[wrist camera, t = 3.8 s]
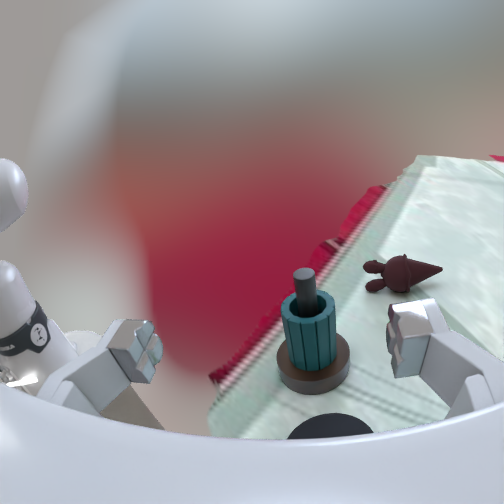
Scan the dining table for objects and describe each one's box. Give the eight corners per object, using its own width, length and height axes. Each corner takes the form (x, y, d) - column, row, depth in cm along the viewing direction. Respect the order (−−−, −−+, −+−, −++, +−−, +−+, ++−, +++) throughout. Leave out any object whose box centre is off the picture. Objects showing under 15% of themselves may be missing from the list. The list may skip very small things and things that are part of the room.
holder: (276, 396, 37) (253, 305, 30) (281, 344, 46) (263, 255, 39) (351, 391, 35) (355, 296, 28) (346, 339, 44) (343, 247, 37)
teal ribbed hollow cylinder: (288, 372, 37) (279, 325, 33) (290, 338, 43) (282, 291, 39) (337, 368, 36) (336, 320, 32) (334, 334, 41) (332, 286, 38)
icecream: (437, 244, 49) (362, 253, 55) (447, 255, 42) (362, 265, 48) (438, 279, 51) (365, 287, 56) (447, 294, 44) (365, 303, 50)
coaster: (278, 495, 25) (277, 494, 24) (286, 417, 34) (285, 415, 34) (380, 489, 22) (381, 487, 22) (373, 410, 32) (373, 408, 32)
